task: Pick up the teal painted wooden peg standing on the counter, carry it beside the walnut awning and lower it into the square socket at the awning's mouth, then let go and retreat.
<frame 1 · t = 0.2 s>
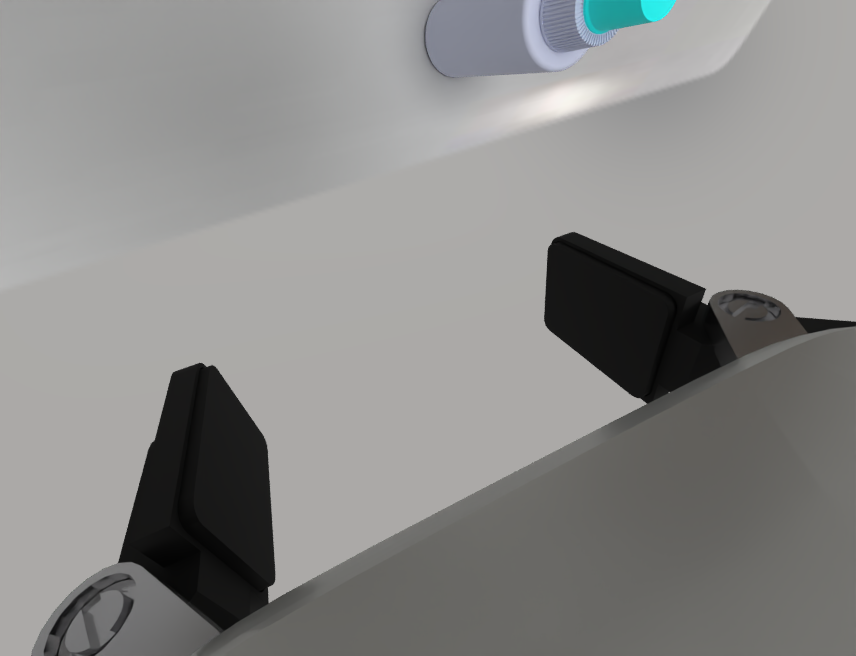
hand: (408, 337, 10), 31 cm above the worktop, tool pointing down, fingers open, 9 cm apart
spray bottle: (452, 38, 34), on the worktop
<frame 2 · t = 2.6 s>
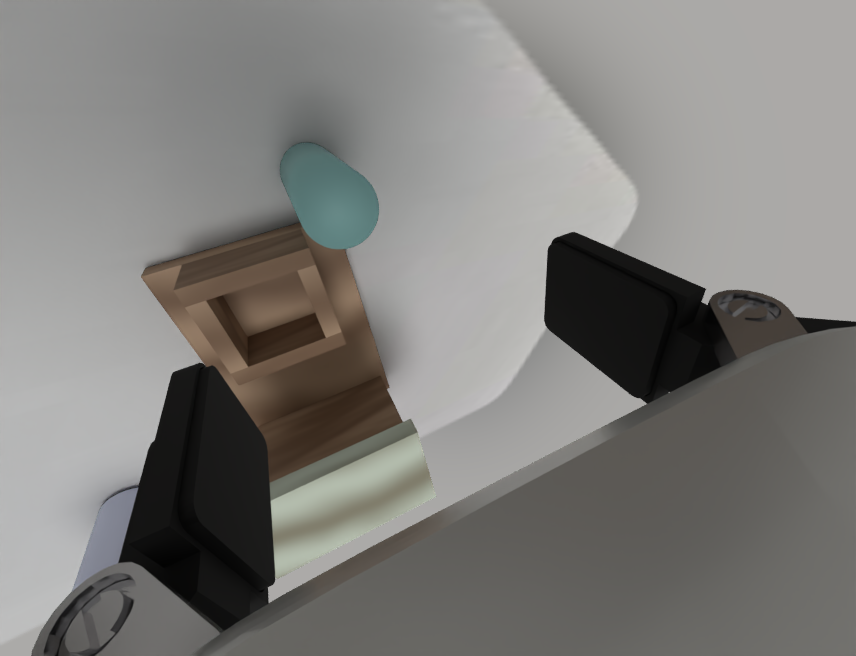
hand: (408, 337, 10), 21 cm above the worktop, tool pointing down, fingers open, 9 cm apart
spray bottle: (142, 504, 34), on the worktop
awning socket: (291, 335, 31), on the worktop
peg: (310, 174, 26), on the worktop
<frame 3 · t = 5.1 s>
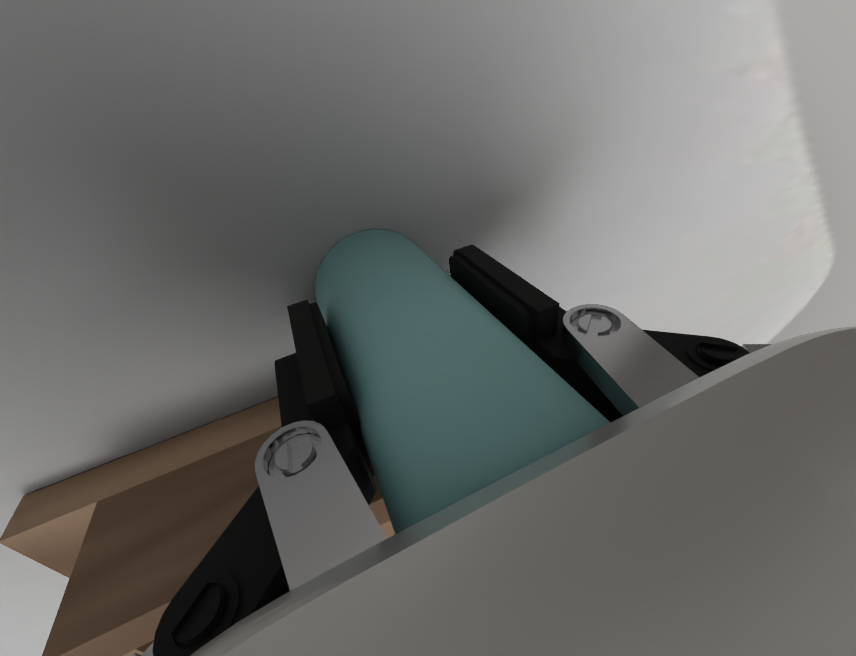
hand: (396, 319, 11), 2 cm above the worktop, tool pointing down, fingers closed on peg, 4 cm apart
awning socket: (319, 528, 18), on the worktop
peg: (374, 286, 12), on the worktop, touching gripper
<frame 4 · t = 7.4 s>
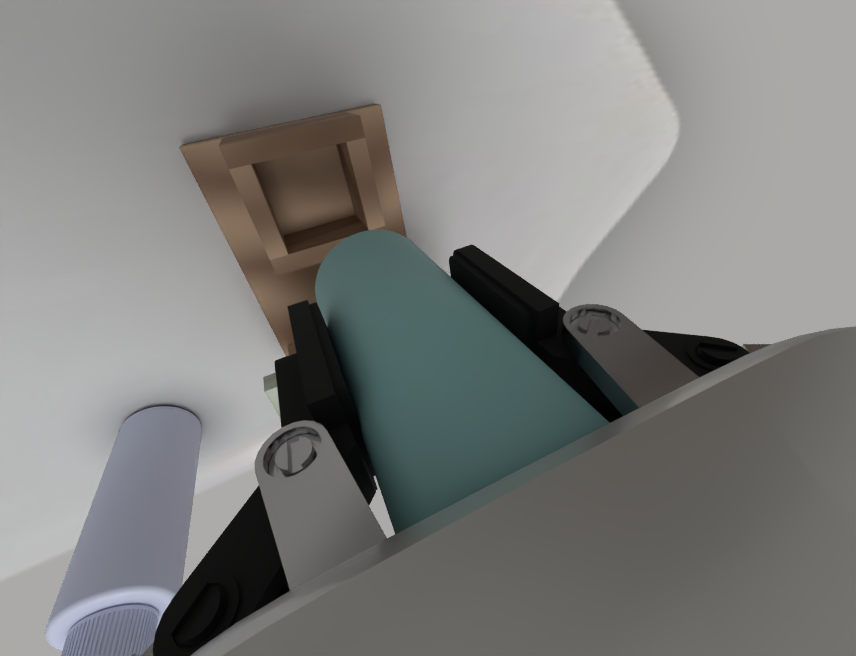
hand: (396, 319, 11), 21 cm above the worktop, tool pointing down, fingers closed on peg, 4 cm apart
spray bottle: (163, 427, 33), on the worktop
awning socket: (326, 245, 30), on the worktop
peg: (374, 287, 12), point 19 cm above the worktop, touching gripper
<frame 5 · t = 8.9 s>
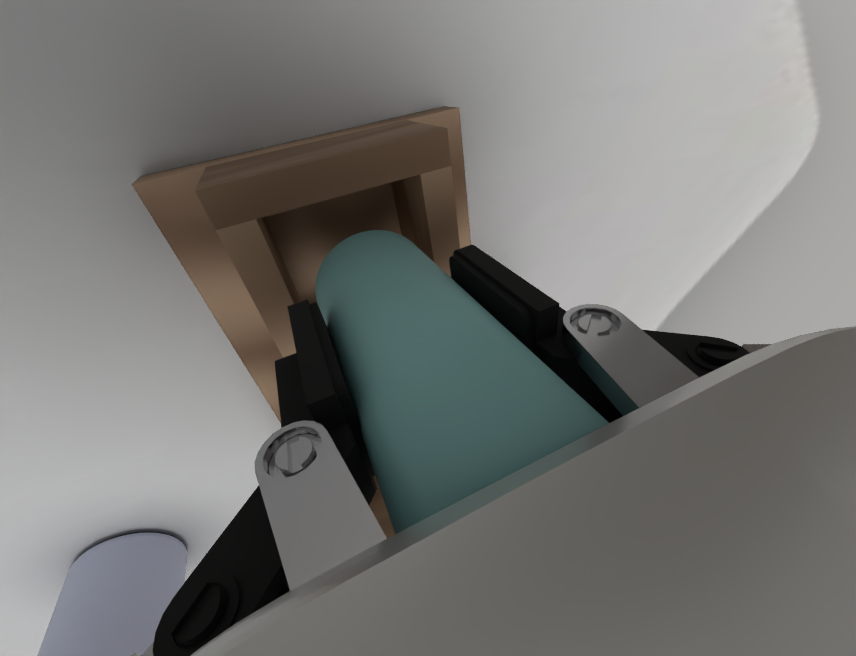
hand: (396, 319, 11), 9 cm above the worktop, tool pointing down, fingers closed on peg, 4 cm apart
spray bottle: (133, 555, 24), on the worktop
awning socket: (362, 310, 21), on the worktop
peg: (374, 287, 12), point 7 cm above the worktop, touching gripper
when the fingers open (6 cm above the worktop, at t = 9.9 s): peg drops 2 cm, resting on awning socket.
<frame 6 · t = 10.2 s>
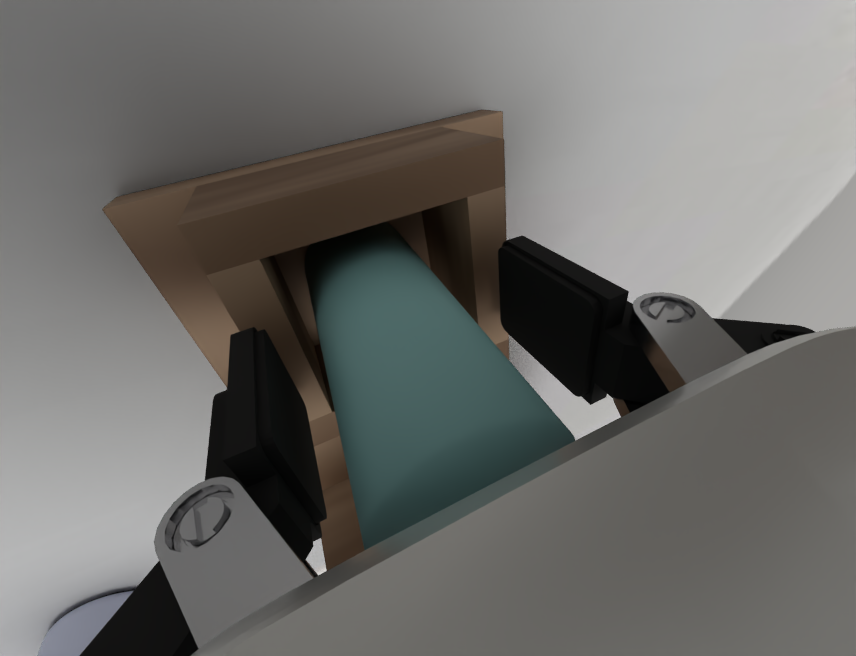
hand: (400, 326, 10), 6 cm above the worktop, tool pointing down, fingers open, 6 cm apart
spray bottle: (119, 614, 21), on the worktop
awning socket: (379, 342, 18), on the worktop
peg: (359, 266, 14), point 2 cm above the worktop, touching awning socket
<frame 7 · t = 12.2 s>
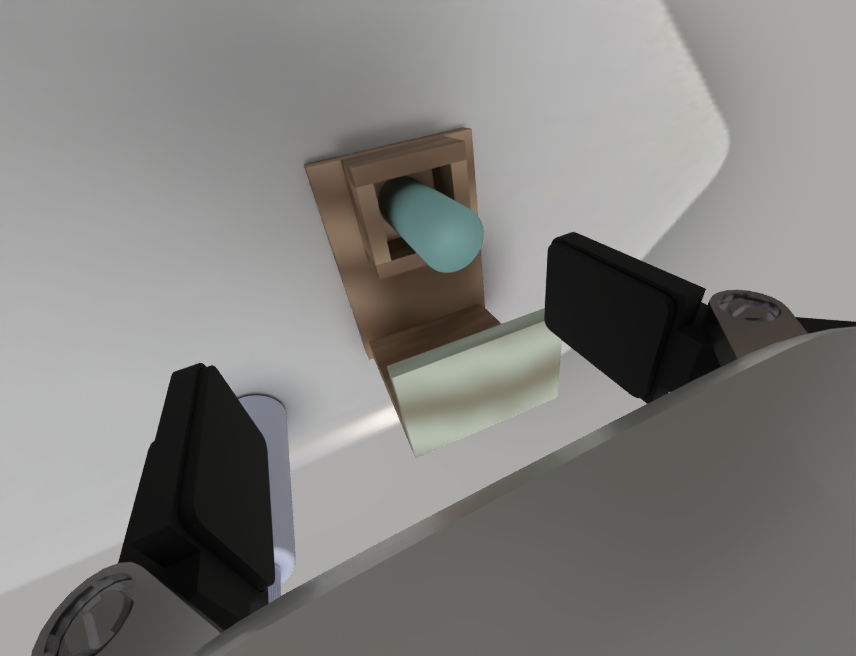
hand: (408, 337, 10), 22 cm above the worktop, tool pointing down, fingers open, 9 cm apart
spray bottle: (253, 414, 36), on the worktop
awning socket: (408, 252, 33), on the worktop
peg: (402, 201, 29), point 2 cm above the worktop, touching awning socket
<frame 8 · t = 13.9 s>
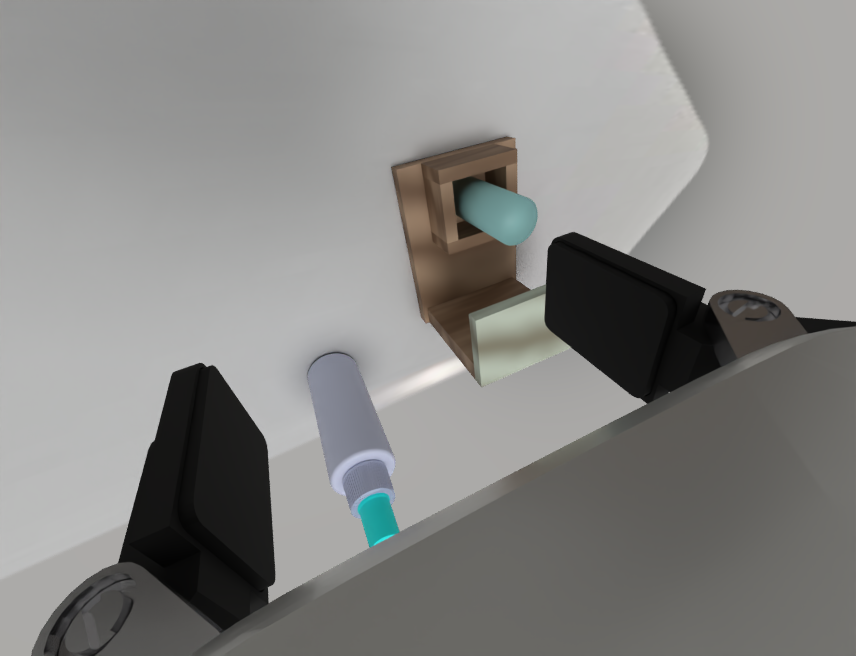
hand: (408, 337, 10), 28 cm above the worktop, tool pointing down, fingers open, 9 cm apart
spray bottle: (332, 370, 45), on the worktop
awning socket: (460, 235, 42), on the worktop
peg: (461, 195, 38), point 2 cm above the worktop, touching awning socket
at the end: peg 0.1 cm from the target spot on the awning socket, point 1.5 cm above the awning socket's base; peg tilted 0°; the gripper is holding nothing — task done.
